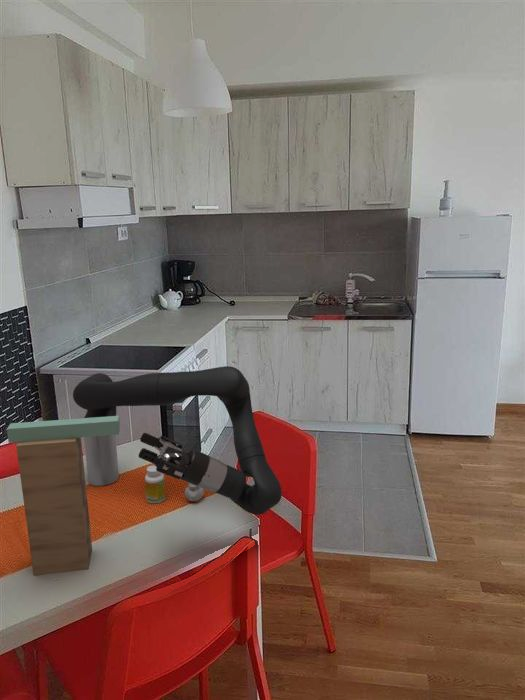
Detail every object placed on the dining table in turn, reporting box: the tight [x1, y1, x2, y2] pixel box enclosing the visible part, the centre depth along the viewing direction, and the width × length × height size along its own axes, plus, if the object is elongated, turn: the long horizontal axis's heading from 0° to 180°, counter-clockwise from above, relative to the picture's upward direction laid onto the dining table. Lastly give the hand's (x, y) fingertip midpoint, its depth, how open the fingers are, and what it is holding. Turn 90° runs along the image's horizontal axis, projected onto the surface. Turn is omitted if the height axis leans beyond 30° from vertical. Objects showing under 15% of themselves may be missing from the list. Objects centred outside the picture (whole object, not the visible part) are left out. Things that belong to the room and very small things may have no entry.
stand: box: [16, 437, 93, 576], centre depth 121 cm, size 7×12×32 cm, turn 100°
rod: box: [6, 415, 121, 444], centre depth 117 cm, size 3×23×3 cm, turn 100°
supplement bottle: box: [144, 465, 166, 504], centre depth 151 cm, size 5×5×10 cm
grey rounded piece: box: [184, 482, 205, 502], centre depth 151 cm, size 5×7×8 cm
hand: (140, 444), depth 121 cm, fingers open, 8 cm apart
